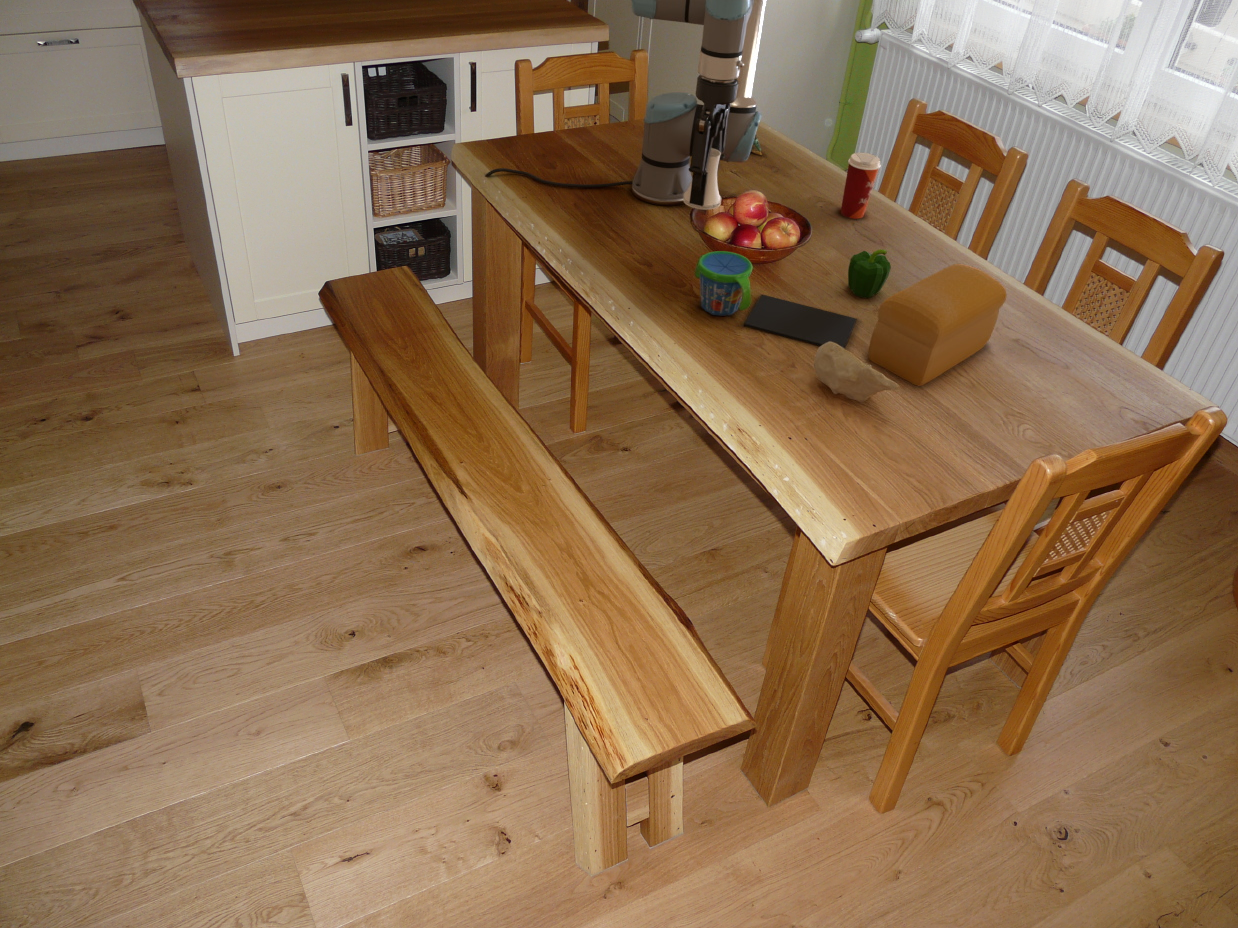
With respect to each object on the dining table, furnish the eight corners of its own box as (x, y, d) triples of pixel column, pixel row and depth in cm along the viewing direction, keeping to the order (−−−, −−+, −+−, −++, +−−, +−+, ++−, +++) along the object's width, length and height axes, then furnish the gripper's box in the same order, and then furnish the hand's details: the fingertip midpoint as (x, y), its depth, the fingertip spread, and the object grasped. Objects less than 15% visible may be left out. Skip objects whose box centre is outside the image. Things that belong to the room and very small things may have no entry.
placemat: (743, 326, 184) (743, 323, 184) (761, 296, 193) (761, 294, 193) (842, 352, 179) (843, 349, 178) (856, 321, 188) (856, 318, 188)
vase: (728, 203, 184) (735, 154, 178) (704, 213, 180) (710, 163, 174) (699, 190, 188) (705, 141, 182) (675, 200, 184) (680, 150, 177)
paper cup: (867, 222, 224) (882, 166, 215) (835, 218, 225) (848, 161, 216) (867, 209, 230) (881, 154, 221) (836, 204, 231) (849, 149, 222)
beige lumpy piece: (800, 375, 175) (803, 366, 161) (823, 343, 175) (828, 331, 160) (868, 422, 173) (877, 417, 159) (892, 389, 173) (903, 382, 158)
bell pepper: (840, 296, 195) (850, 253, 189) (846, 279, 201) (857, 237, 195) (879, 306, 194) (892, 262, 187) (885, 288, 200) (897, 245, 193)
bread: (920, 388, 171) (944, 318, 161) (863, 357, 178) (882, 288, 168) (989, 345, 184) (1015, 278, 175) (934, 317, 191) (955, 251, 182)
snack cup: (677, 294, 192) (683, 249, 185) (721, 285, 196) (728, 241, 189) (715, 332, 181) (722, 286, 175) (761, 322, 185) (769, 277, 179)
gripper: (721, 96, 161) (704, 220, 175) (753, 67, 175) (735, 184, 189) (680, 87, 163) (667, 211, 177) (715, 59, 177) (700, 176, 191)
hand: (702, 197), depth 183 cm, fingers closed on vase, 6 cm apart
